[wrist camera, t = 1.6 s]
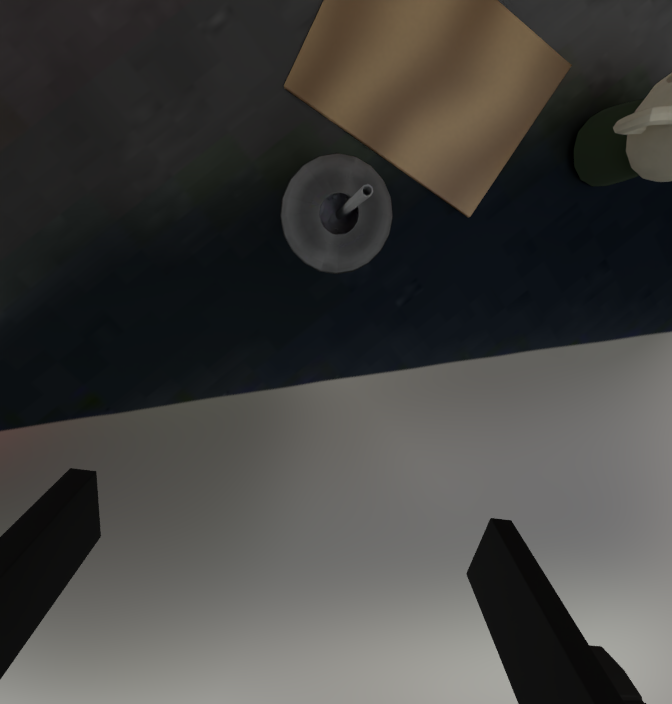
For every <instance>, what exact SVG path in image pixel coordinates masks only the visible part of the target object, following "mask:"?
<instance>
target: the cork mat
mask: <svg viewBox="0 0 672 704" xmlns="http://www.w3.org/2000/svg"><path fill="white" fill-rule="evenodd" d="M571 66H572V65H571V64H570V63H568V62H567V61H566V60H565V59H564V58H563V57H562V56H560V55H559V54H558V53H557V52H556V51H555V50H554V49H552V48H551V47H550V46H549V45H548V44H547V43H546V42H544V41H543V40H542V39H541V38H540V37H539V36H538V35H536V34H535V33H534V32H533V31H532V30H531V29H530V28H528V27H527V26H526V25H525V24H524V23H523V22H522V21H520V20H519V19H518V18H517V17H516V16H515V15H514V14H512V13H511V12H510V11H509V10H508V9H507V8H506V7H504V6H503V5H502V4H501V3H500V2H499V1H498V0H324V1H323V3H322V5H321V7H320V9H319V11H318V14H317V16H316V18H315V20H314V22H313V24H312V26H311V29H310V31H309V33H308V35H307V37H306V39H305V41H304V44H303V46H302V48H301V50H300V52H299V54H298V56H297V59H296V61H295V63H294V65H293V67H292V69H291V71H290V74H289V76H288V78H287V80H286V82H285V84H284V88H285V89H286V90H287V91H289V92H290V93H292V94H293V95H295V96H296V97H297V98H299V99H300V100H302V101H303V102H305V103H306V104H307V105H309V106H310V107H312V108H313V109H314V110H316V111H317V112H319V113H320V114H322V115H323V116H324V117H326V118H327V119H329V120H330V121H332V122H333V123H334V124H336V125H337V126H339V127H340V128H341V129H343V130H344V131H346V132H347V133H349V134H350V135H351V136H353V137H354V138H356V139H357V140H359V141H360V142H361V143H363V144H364V145H366V146H367V147H368V148H370V149H371V150H373V151H374V152H376V153H377V154H378V155H380V156H381V157H383V158H384V159H386V160H387V161H388V162H390V163H391V164H393V165H394V166H395V167H397V168H398V169H400V170H401V171H403V172H404V173H405V174H407V175H408V176H410V177H411V178H412V179H414V180H415V181H417V182H418V183H420V184H421V185H422V186H424V187H425V188H427V189H428V190H430V191H431V192H432V193H434V194H435V195H437V196H438V197H439V198H441V199H442V200H444V201H445V202H447V203H448V204H449V205H451V206H452V207H454V208H455V209H457V210H458V211H459V212H461V213H462V214H464V215H465V216H466V217H470V216H471V215H472V213H473V212H474V210H475V209H476V207H477V206H478V204H479V203H480V201H481V200H482V198H483V197H484V195H485V194H486V192H487V191H488V189H489V188H490V187H491V185H492V184H493V182H494V181H495V179H496V178H497V176H498V175H499V173H500V172H501V170H502V169H503V167H504V166H505V164H506V163H507V161H508V160H509V158H510V157H511V155H512V154H513V152H514V151H515V149H516V148H517V146H518V145H519V143H520V142H521V140H522V139H523V137H524V136H525V134H526V133H527V131H528V130H529V128H530V127H531V125H532V124H533V122H534V121H535V119H536V118H537V117H538V115H539V114H540V112H541V111H542V109H543V108H544V106H545V105H546V103H547V102H548V100H549V99H550V97H551V96H552V94H553V93H554V91H555V90H556V88H557V87H558V85H559V84H560V82H561V81H562V79H563V78H564V76H565V75H566V73H567V72H568V70H569V69H570V67H571Z"/></svg>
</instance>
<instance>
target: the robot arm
mask: <svg viewBox="0 0 672 704" xmlns="http://www.w3.org/2000/svg"><path fill="white" fill-rule="evenodd" d="M100 536H101V532H100V518H99V504H98V491H97V476H96V471H89V470H80V469H72V468H71V469H69V470H68V471H67V472H66V473H65V474H64V475H63V476H62V477H61V478H60V479H59V480H58V481H57V482H56V483H55V484H54V485H53V486H52V487H51V488H50V489H49V490H48V491H47V492H46V493H45V494H44V495H43V496H42V497H41V498H40V499H39V500H38V501H37V502H36V503H35V504H34V505H33V506H32V507H30V508H29V509H28V510H27V511H26V513H24V514H23V515H22V516H21V517H20V518H19V519H18V520H17V521H16V522H15V523H14V524H13V525H12V526H11V527H10V528H9V529H8V530H7V531H6V532H5V533H4V534H3V535H2V536H1V537H0V679H1V678H2V676H3V675H4V673H5V672H6V671H7V669H8V668H9V666H10V665H11V663H12V662H13V661H14V659H15V658H16V656H17V655H18V653H19V652H20V650H21V649H22V648H23V646H24V645H25V643H26V642H27V641H28V639H29V638H30V636H31V635H32V634H33V632H34V630H35V629H36V628H37V626H38V625H39V624H40V622H41V621H42V619H43V618H44V616H45V615H46V614H47V612H48V611H49V609H50V608H51V607H52V605H53V604H54V602H55V601H56V599H57V598H58V596H59V595H60V594H61V592H62V591H63V589H64V588H65V587H66V585H67V584H68V582H69V581H70V579H71V578H72V577H73V575H74V574H75V572H76V571H77V570H78V568H79V567H80V565H81V564H82V562H83V561H84V560H85V558H86V557H87V555H88V554H89V552H90V551H91V549H92V548H93V547H94V545H95V544H96V543H97V541H98V540H99V538H100ZM467 577H468V579H469V582H470V584H471V586H472V589H473V591H474V594H475V596H476V599H477V601H478V604H479V606H480V609H481V611H482V614H483V616H484V619H485V621H486V623H487V626H488V629H489V631H490V634H491V636H492V639H493V641H494V644H495V646H496V649H497V651H498V654H499V656H500V659H501V661H502V664H503V666H504V669H505V671H506V673H507V676H508V679H509V681H510V683H511V686H512V689H513V691H514V693H515V696H516V698H517V701H518V703H519V704H646V703H644V702H643V701H642V697H641V695H640V694H639V692H638V691H637V689H636V688H635V686H634V685H633V683H632V682H631V680H630V679H629V677H628V676H627V674H626V673H625V671H624V670H623V669H622V668H621V667H620V666H619V665H618V663H617V662H616V661H615V660H614V659H613V658H612V657H611V656H610V655H609V654H608V653H607V652H606V651H605V650H604V649H603V648H602V647H600V646H589V645H588V643H587V641H586V640H585V638H584V637H583V635H582V633H581V632H580V630H579V629H578V627H577V626H576V624H575V622H574V621H573V619H572V618H571V616H570V614H569V613H568V611H567V609H566V608H565V606H564V605H563V603H562V601H561V600H560V598H559V597H558V595H557V593H556V592H555V590H554V588H553V587H552V585H551V584H550V582H549V580H548V579H547V577H546V576H545V574H544V572H543V571H542V569H541V568H540V566H539V564H538V563H537V561H536V559H535V558H534V556H533V555H532V553H531V551H530V550H529V548H528V547H527V545H526V543H525V542H524V540H523V539H522V537H521V535H520V534H519V532H518V531H517V529H516V527H515V526H514V524H513V523H512V521H511V520H502V519H494V518H491V519H490V521H489V523H488V525H487V528H486V530H485V532H484V535H483V537H482V539H481V541H480V544H479V546H478V548H477V551H476V553H475V555H474V557H473V560H472V562H471V564H470V567H469V569H468V571H467Z"/></svg>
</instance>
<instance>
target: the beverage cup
mask: <svg viewBox="0 0 672 704" xmlns="http://www.w3.org/2000/svg"><path fill="white" fill-rule="evenodd" d="M280 218H281V223H282V228H283V234H284V236H285V238H286V240H287V242H288V244H289V246H290V248H291V250H292V251H293V252H294V253H295V254H296V255H297V256H298V257H299V258H300V259H301V260H302V261H303V262H304V263H305V264H307V265H309V266H310V267H312V268H314V269H316V270H318V271H321V272H327V273H333V274H340V273H346V272H353V271H355V270H357V269H359V268H361V267H363V266H365V265H366V264H368V263H369V262H370V261H371V260H372V259H373V258H374V257H375V256H376V255H377V254H378V253H379V252H380V251H381V249H382V248H383V246H384V244H385V242H386V240H387V238H388V236H389V233H390V228H391V223H392V218H393V215H392V204H391V197H390V195H389V192H388V190H387V187H386V185H385V183H384V180H383V179H382V178H381V177H380V176H379V175H378V173H377V172H376V171H375V170H374V169H373V167H372V166H370V165H369V164H367V163H365V162H364V161H362V160H360V159H359V158H357V157H355V156H349V155H344V154H339V153H335V154H329V155H323V156H318V157H316V158H315V159H313V160H311V161H309V162H308V163H306V164H304V165H302V166H301V168H300V169H299V170H298V171H297V172H296V173H295V174H294V175H293V177H292V178H291V179H290V180H289V183H288V185H287V187H286V190H285V192H284V194H283V197H282V204H281V213H280Z"/></svg>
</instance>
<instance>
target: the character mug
mask: <svg viewBox="0 0 672 704" xmlns="http://www.w3.org/2000/svg"><path fill="white" fill-rule="evenodd" d="M574 167H575V169H576V171H577V173H578V175H579V177H580V179H581V180H582V181H584V182H586V183H587V184H589V185H591V186H608V185H611V184H615V183H618V182H622V181H625V180H628V179H631V178H634V177H636V176H639V175H640V176H641V177H642V178H643V179H648V180H652V181H657V182H668V181H672V73H671V74H669V75H668V76H667V77H665V78H664V79H662V80H661V81H660V82H658V83H657V84H656V85H654V87H653V88H652V90H651V91H650V93H649V94H648V95H647V97H646V98H645V99H640V100H636V101H631V102H627V103H623V104H620V105H616V106H613V107H610V108H606V109H604V110H602V111H600V112H599V113H597V114H595V115H594V116H592V117H590V118H589V119H588V121H587V122H586V123H585V124H584V126H583V127H582V128H581V129H580V131H579V132H578V134H577V138H576V142H575V146H574Z"/></svg>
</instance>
